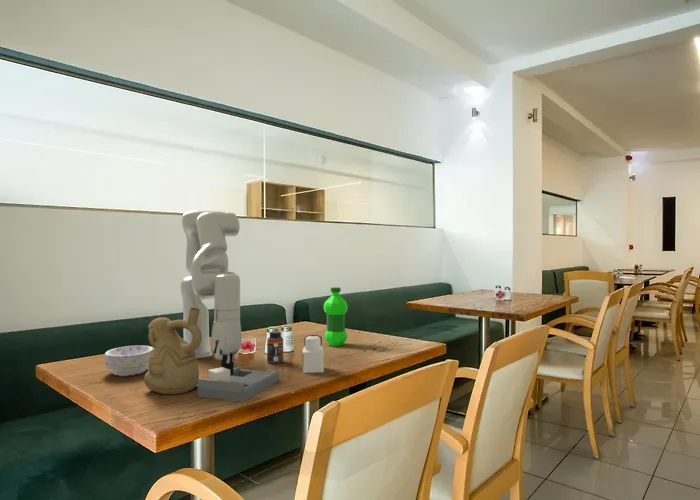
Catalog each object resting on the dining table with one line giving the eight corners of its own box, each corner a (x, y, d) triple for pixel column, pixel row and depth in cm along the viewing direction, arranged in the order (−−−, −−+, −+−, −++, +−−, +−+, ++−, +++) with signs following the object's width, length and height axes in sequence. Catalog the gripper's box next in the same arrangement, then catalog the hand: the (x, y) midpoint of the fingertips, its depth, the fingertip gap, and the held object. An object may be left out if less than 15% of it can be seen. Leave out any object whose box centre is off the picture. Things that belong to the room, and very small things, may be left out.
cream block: (208, 385, 135) (208, 369, 135) (222, 382, 138) (222, 367, 138) (215, 389, 132) (215, 372, 132) (230, 385, 135) (230, 369, 135)
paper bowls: (106, 381, 148) (106, 357, 148) (103, 371, 161) (103, 348, 161) (157, 374, 156) (157, 351, 156) (150, 365, 169) (149, 343, 169)
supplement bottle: (280, 364, 169) (279, 333, 169) (264, 363, 170) (264, 333, 170) (285, 360, 174) (285, 330, 174) (270, 359, 176) (270, 330, 176)
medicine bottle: (303, 367, 164) (302, 334, 164) (323, 367, 164) (323, 333, 164) (302, 373, 157) (302, 338, 157) (323, 372, 157) (323, 337, 157)
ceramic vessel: (170, 378, 152) (169, 302, 152) (218, 384, 144) (218, 304, 144) (127, 393, 136) (126, 308, 136) (179, 401, 129) (178, 312, 128)
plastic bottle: (333, 341, 209) (333, 286, 209) (352, 344, 203) (352, 287, 203) (319, 345, 201) (318, 288, 201) (338, 348, 195) (338, 289, 194)
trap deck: (197, 396, 133) (197, 379, 133) (238, 376, 153) (238, 361, 153) (243, 401, 128) (242, 383, 128) (279, 380, 148) (279, 364, 148)
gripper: (230, 310, 148) (230, 367, 148) (201, 318, 134) (201, 381, 134) (250, 311, 146) (251, 369, 146) (224, 319, 131) (224, 383, 132)
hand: (227, 375), depth 140 cm, fingers closed
